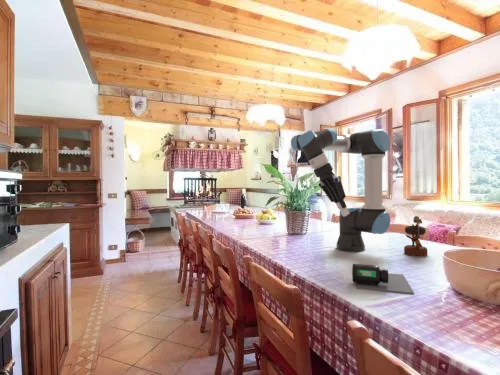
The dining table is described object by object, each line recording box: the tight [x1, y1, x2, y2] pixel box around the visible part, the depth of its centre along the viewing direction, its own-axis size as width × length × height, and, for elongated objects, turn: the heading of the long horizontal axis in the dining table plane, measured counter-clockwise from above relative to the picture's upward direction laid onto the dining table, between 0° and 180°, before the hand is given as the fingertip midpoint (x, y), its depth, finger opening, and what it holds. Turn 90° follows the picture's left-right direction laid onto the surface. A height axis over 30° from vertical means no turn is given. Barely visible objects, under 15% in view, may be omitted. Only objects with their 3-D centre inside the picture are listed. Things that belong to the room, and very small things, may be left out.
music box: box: [403, 215, 428, 258], centre depth 150 cm, size 15×11×20 cm
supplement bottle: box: [351, 263, 389, 285], centre depth 106 cm, size 7×7×12 cm
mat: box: [356, 272, 415, 295], centre depth 109 cm, size 18×20×1 cm
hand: (346, 214), depth 123 cm, fingers closed
